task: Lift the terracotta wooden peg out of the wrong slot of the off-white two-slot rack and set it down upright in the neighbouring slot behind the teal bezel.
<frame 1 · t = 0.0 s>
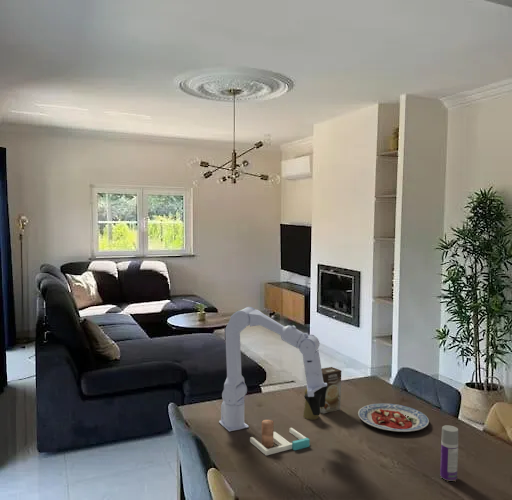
hand: (319, 410, 167), 11 cm above the table, tool pointing down, fingers open, 7 cm apart
coffee box: (327, 409, 195), on the table
olive yellow shaker: (310, 417, 188), on the table
slot rack: (278, 442, 166), on the table
peg: (267, 445, 163), resting in slot rack
container: (448, 478, 144), on the table
ceramic plate: (392, 422, 184), on the table
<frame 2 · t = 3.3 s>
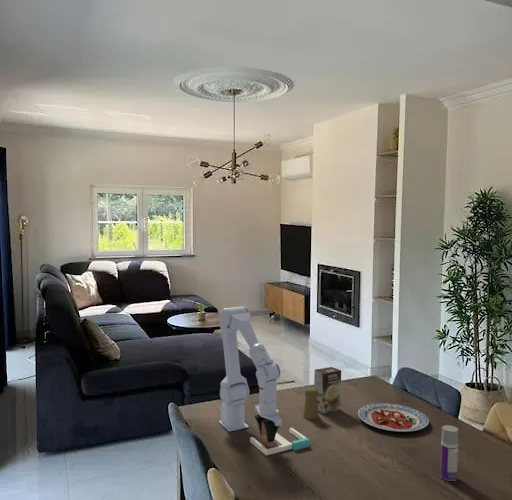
hand: (267, 438, 163), 2 cm above the table, tool pointing down, fingers closed on peg, 4 cm apart
peg: (267, 445, 163), resting in slot rack, touching gripper
everything else where it was.
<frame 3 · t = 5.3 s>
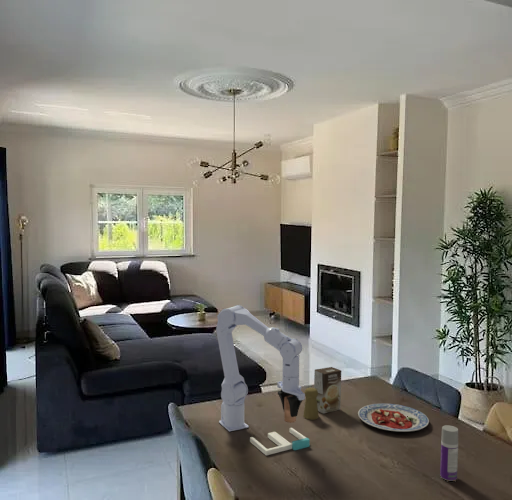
hand: (290, 413, 167), 9 cm above the table, tool pointing down, fingers closed on peg, 4 cm apart
peg: (290, 420, 167), point 7 cm above the table, touching gripper
everything else where it was.
when the fingers open (3 cm above the table, at t = 7.4 s): peg stays where it is, resting in slot rack.
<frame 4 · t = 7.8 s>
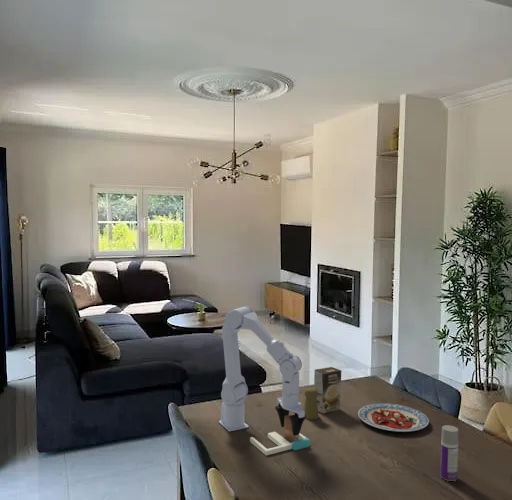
hand: (290, 430, 168), 3 cm above the table, tool pointing down, fingers open, 7 cm apart
peg: (289, 439, 168), resting in slot rack
everything else where it was.
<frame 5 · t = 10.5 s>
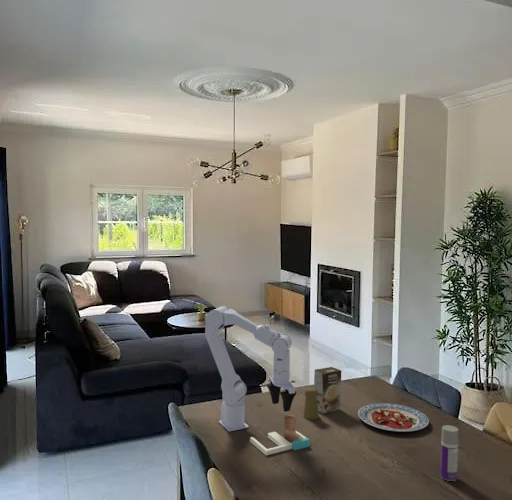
hand: (281, 407, 172), 9 cm above the table, tool pointing down, fingers open, 7 cm apart
nothing on the table moved.
at the end: peg 0.2 cm from the target spot on the slot rack, point 0.0 cm above the slot rack's base; peg tilted 0°; the gripper is holding nothing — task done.
